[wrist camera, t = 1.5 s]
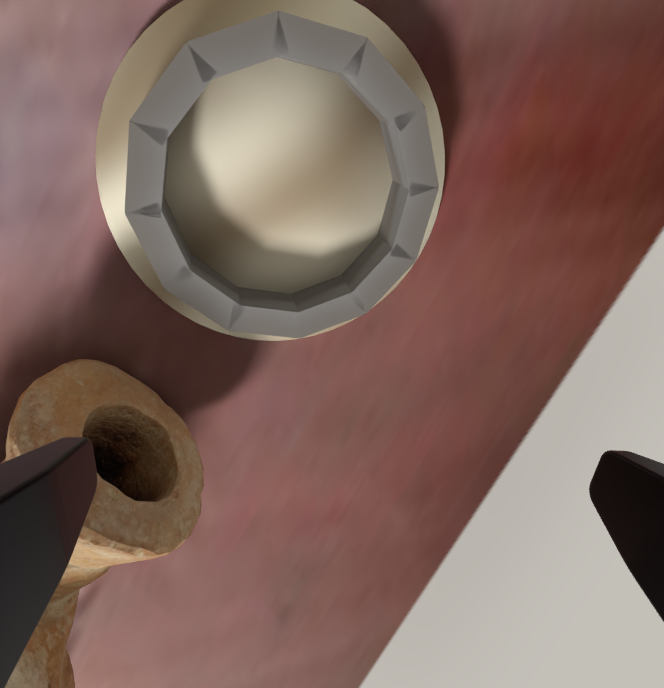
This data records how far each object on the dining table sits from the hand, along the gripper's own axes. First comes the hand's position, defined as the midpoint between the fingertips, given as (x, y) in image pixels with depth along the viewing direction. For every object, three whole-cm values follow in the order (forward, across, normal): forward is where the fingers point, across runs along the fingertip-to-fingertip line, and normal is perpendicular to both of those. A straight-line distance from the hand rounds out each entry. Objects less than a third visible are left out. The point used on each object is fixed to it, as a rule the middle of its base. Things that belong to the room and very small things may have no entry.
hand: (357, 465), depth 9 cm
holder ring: (+15, -2, +2) cm, 15 cm away
